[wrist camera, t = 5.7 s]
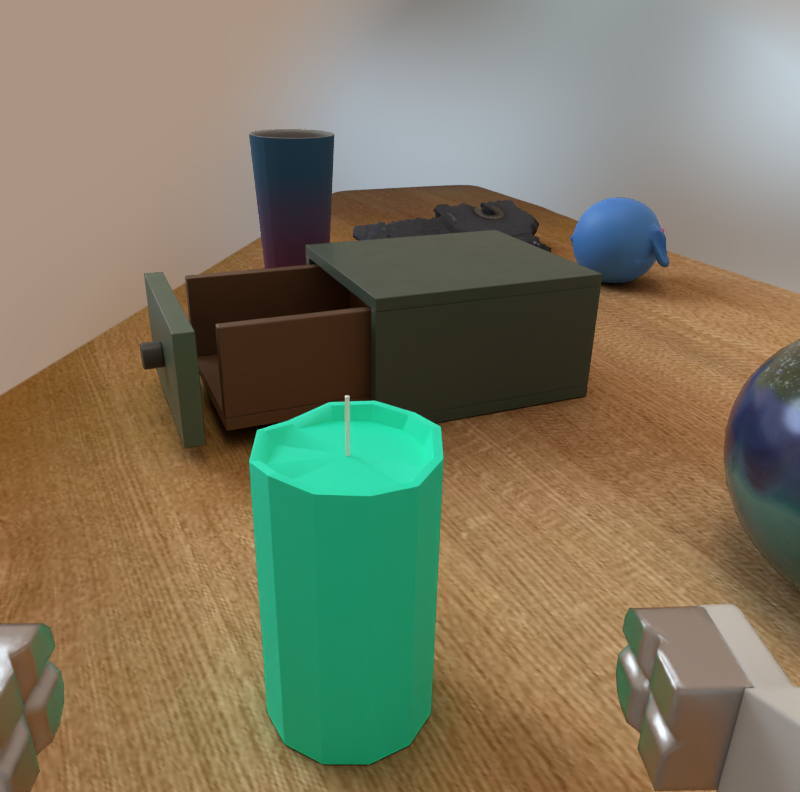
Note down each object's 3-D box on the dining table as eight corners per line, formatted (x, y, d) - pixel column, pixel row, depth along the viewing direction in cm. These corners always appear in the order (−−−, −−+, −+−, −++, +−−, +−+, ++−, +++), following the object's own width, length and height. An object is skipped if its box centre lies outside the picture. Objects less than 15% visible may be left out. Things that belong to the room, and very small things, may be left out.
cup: (294, 294, 72) (287, 127, 66) (352, 308, 69) (350, 133, 62) (243, 313, 67) (231, 133, 60) (303, 328, 63) (297, 140, 57)
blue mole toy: (705, 283, 78) (721, 200, 75) (634, 303, 72) (648, 212, 68) (611, 258, 87) (621, 183, 83) (539, 274, 80) (547, 192, 77)
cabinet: (375, 434, 46) (376, 298, 43) (308, 357, 58) (305, 244, 54) (586, 396, 52) (602, 273, 48) (488, 332, 63) (496, 229, 60)
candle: (406, 626, 31) (414, 352, 26) (456, 745, 26) (477, 430, 21) (258, 653, 29) (236, 367, 24) (278, 784, 24) (255, 455, 19)
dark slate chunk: (336, 244, 91) (336, 204, 89) (490, 228, 100) (492, 192, 98) (396, 276, 78) (397, 230, 76) (564, 255, 88) (569, 213, 86)
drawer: (162, 452, 42) (147, 336, 39) (137, 371, 52) (124, 274, 49) (420, 408, 48) (424, 304, 45) (352, 343, 58) (351, 255, 55)
